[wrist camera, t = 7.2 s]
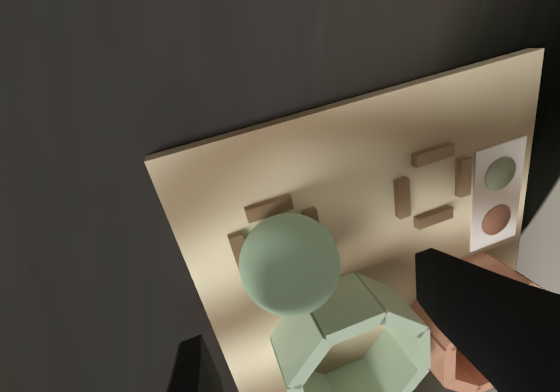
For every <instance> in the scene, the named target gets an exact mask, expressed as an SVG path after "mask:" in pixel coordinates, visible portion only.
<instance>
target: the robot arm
mask: <svg viewBox="0 0 560 392" xmlns="http://www.w3.org/2000/svg"><path fill="white" fill-rule="evenodd" d="M415 272H416V300H417V301H418V303H419V304H420V306H421V307H422V308H423V310H424V311H425V312H426V314H427V315H428V316H429V318H430V319H431V320H432V322H433V323H434V324H435V325H436V327H437V328H438V329H439V330H440V331H441V332H442V333H443V334H444V335H445V336H446V337H447V338H448V339H449V341H450V342H451V343H452V344H453V345H454V346H455V347H456V348H457V349H458V350H459V351H460V352H461V353H462V354H463V355H464V356H465V357H466V358H467V359H468V360H469V361H470V362H471V364H472V365H473V366H474V367H475V368H476V369H477V370H478V371H479V372H480V373H481V374H482V375H483V376H484V377H485V378H486V379H487V380H488V381H489V382H490V383H491V384H492V385H493V387H494V388H495V389H496V390H497V391H498V392H560V294H556V293H553V292H550V291H547V290H544V289H541V288H538V287H535V286H532V285H529V284H526V283H523V282H520V281H517V280H514V279H511V278H509V277H506V276H503V275H501V274H498V273H495V272H493V271H490V270H487V269H485V268H482V267H480V266H477V265H475V264H472V263H470V262H467V261H464V260H462V259H459V258H457V257H454V256H452V255H449V254H447V253H444V252H441V251H439V250H436V249H433V248H429V249H426V250H424V251H421V252H418V253H416V254H415ZM166 392H223V388H222V383H221V378H220V376H219V374H218V371H217V369H216V367H215V365H214V362H213V360H212V358H211V356H210V353H209V351H208V349H207V346H206V344H205V342H204V340H203V337H202V335H198V336H196V337H193V338H190V339H188V340H185V341H182V342H181V343H180V344H179V346H178V350H177V354H176V358H175V362H174V366H173V370H172V374H171V377H170V381H169V384H168V388H167V391H166Z"/></svg>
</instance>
